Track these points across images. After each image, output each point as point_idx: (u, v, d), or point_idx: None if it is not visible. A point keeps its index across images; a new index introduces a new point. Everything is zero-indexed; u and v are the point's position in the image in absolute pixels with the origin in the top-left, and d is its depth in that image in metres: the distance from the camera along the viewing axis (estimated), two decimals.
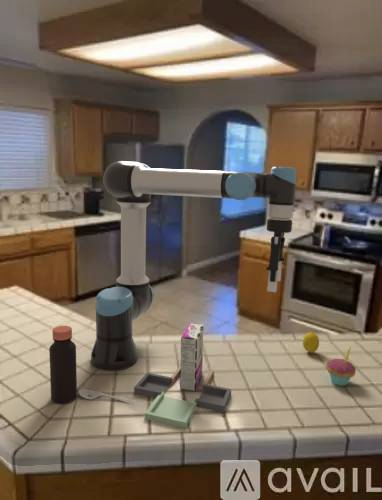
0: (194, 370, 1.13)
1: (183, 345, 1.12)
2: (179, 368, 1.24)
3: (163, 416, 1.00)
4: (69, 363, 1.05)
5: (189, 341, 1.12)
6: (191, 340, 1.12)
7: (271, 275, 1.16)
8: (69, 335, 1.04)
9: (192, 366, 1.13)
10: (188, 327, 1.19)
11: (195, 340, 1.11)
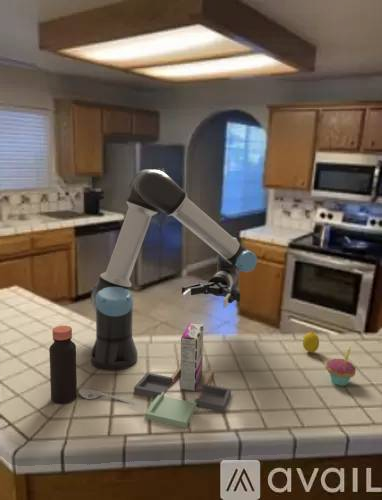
0: (194, 370, 1.13)
1: (183, 345, 1.12)
2: (179, 368, 1.24)
3: (163, 416, 1.00)
4: (69, 363, 1.05)
5: (189, 341, 1.12)
6: (191, 340, 1.12)
7: (232, 298, 1.28)
8: (69, 335, 1.04)
9: (192, 366, 1.13)
10: (188, 327, 1.19)
11: (195, 340, 1.11)
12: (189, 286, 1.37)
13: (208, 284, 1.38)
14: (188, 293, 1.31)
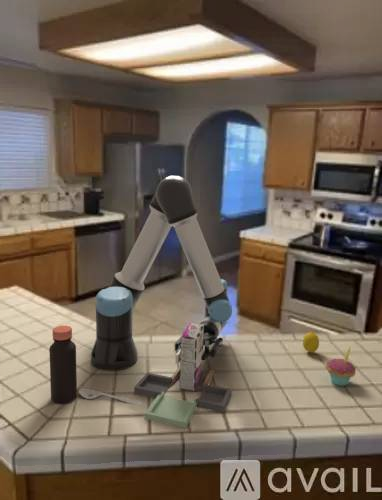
0: (193, 370, 1.13)
1: (183, 345, 1.12)
2: (179, 368, 1.24)
3: (163, 416, 1.00)
4: (69, 363, 1.05)
5: (189, 341, 1.12)
6: (191, 340, 1.12)
7: (207, 354, 1.17)
8: (69, 335, 1.04)
9: (191, 366, 1.13)
10: (188, 327, 1.19)
11: (195, 340, 1.11)
12: None
13: None
14: None
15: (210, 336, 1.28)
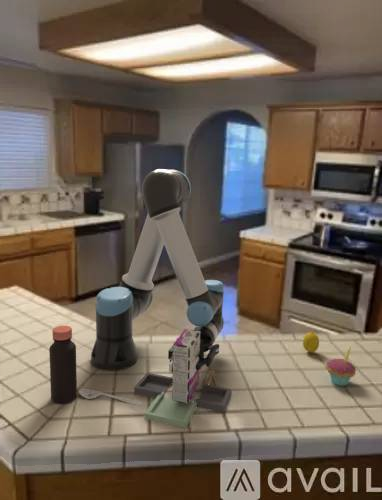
0: (187, 381, 1.04)
1: (175, 353, 1.03)
2: None
3: (163, 416, 1.00)
4: (69, 363, 1.05)
5: (181, 349, 1.02)
6: (183, 348, 1.02)
7: (201, 363, 1.07)
8: (69, 335, 1.04)
9: (184, 377, 1.03)
10: (183, 333, 1.09)
11: (188, 348, 1.02)
12: None
13: None
14: None
15: (206, 342, 1.19)
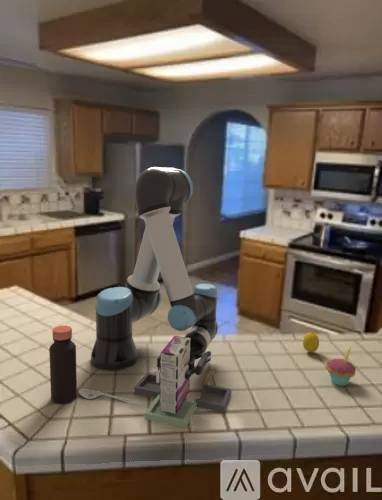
0: (175, 391, 0.99)
1: (162, 362, 0.98)
2: None
3: (163, 416, 1.00)
4: (69, 363, 1.05)
5: (169, 358, 0.97)
6: (171, 356, 0.97)
7: (191, 372, 1.02)
8: (69, 335, 1.04)
9: (172, 386, 0.99)
10: (172, 340, 1.05)
11: (176, 357, 0.97)
12: None
13: None
14: None
15: (197, 349, 1.14)
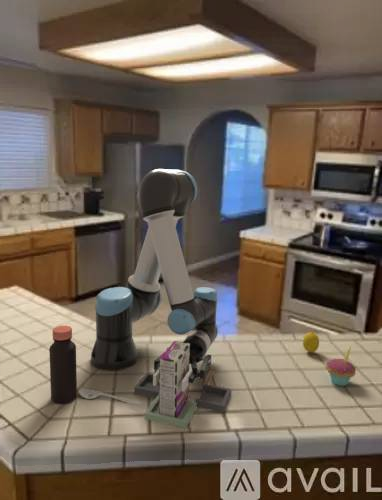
0: (174, 396, 0.99)
1: (161, 367, 0.99)
2: None
3: (163, 416, 1.00)
4: (69, 363, 1.05)
5: (168, 364, 0.98)
6: (170, 362, 0.97)
7: (195, 376, 1.03)
8: (69, 335, 1.04)
9: (172, 392, 0.99)
10: (171, 346, 1.05)
11: (175, 363, 0.97)
12: None
13: None
14: None
15: (197, 353, 1.14)
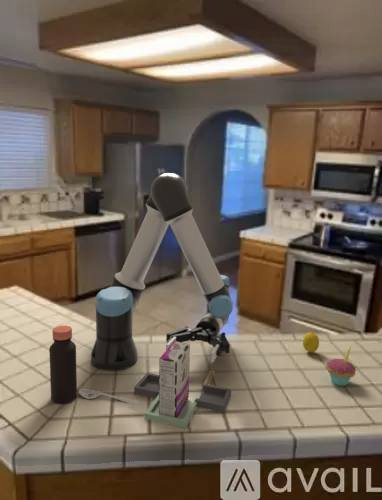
0: (174, 396, 0.99)
1: (161, 367, 0.99)
2: None
3: (163, 416, 1.00)
4: (69, 363, 1.05)
5: (168, 364, 0.98)
6: (170, 362, 0.97)
7: (221, 350, 1.16)
8: (69, 335, 1.04)
9: (172, 392, 0.99)
10: (171, 346, 1.05)
11: (174, 363, 0.97)
12: (174, 332, 1.25)
13: (195, 330, 1.26)
14: None
15: (212, 333, 1.27)
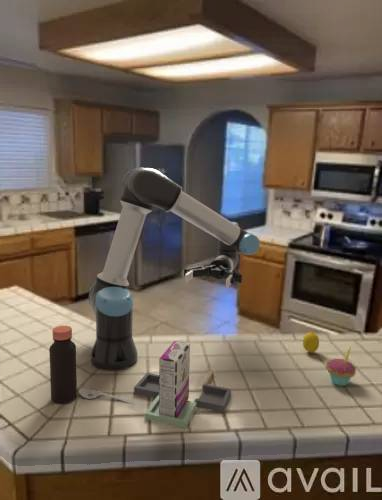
0: (174, 396, 0.99)
1: (161, 367, 0.99)
2: None
3: (163, 416, 1.00)
4: (69, 363, 1.05)
5: (168, 364, 0.98)
6: (170, 362, 0.98)
7: (235, 279, 1.29)
8: (69, 335, 1.04)
9: (172, 392, 0.99)
10: (171, 346, 1.05)
11: (175, 363, 0.97)
12: (191, 268, 1.38)
13: (210, 266, 1.39)
14: (190, 274, 1.32)
15: None
